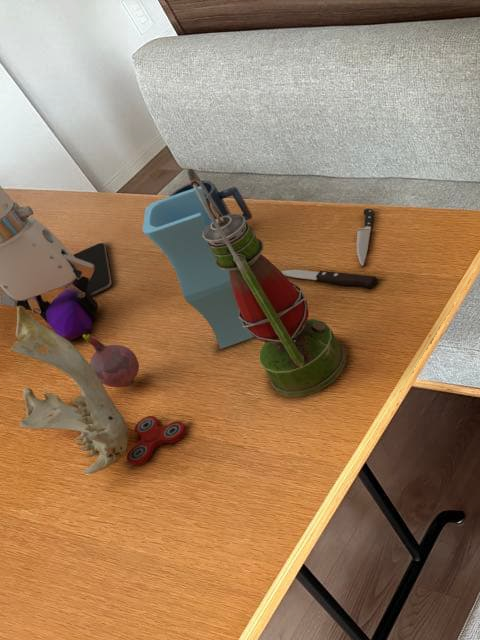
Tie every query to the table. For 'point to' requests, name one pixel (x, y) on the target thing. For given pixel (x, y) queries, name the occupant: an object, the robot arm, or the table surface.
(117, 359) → the vegetable
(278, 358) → the lantern
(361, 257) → the knife
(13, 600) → the table surface
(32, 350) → the jawbone
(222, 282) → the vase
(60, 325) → the purple eggplant
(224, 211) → the mug
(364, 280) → the kitchen knife
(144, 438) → the fidget spinner
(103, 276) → the smartphone
